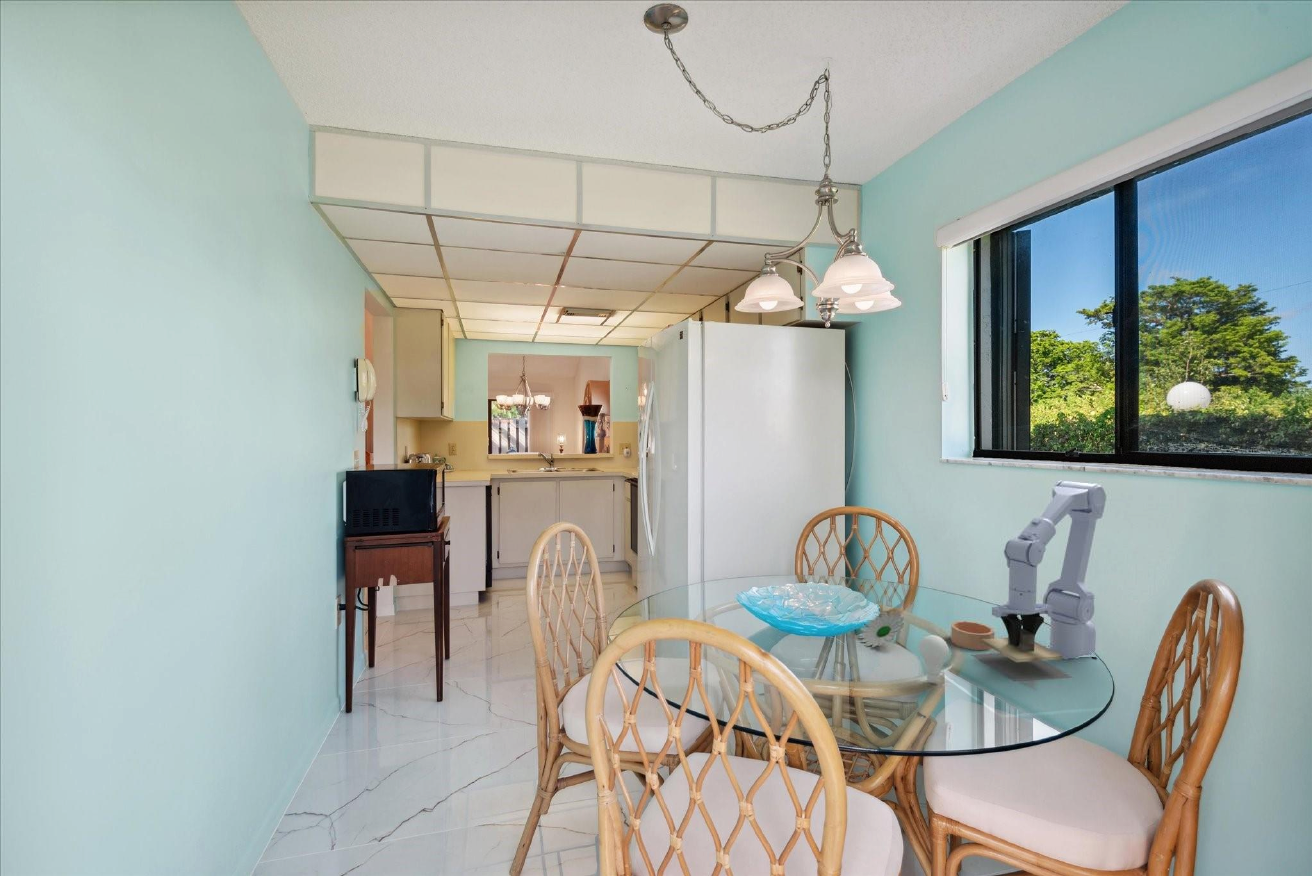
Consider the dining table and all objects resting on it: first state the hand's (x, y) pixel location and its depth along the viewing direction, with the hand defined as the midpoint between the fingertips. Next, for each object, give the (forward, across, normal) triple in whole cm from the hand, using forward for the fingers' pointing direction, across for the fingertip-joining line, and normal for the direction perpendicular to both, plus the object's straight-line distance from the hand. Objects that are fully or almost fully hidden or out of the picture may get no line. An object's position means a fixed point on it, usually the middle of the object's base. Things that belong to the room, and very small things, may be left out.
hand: (1020, 644), depth 148 cm
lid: (+2, 0, 0) cm, 2 cm away
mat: (+6, 0, 0) cm, 6 cm away
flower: (+6, +23, -27) cm, 36 cm away
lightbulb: (+6, +26, +5) cm, 27 cm away
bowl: (+6, +2, -15) cm, 16 cm away
